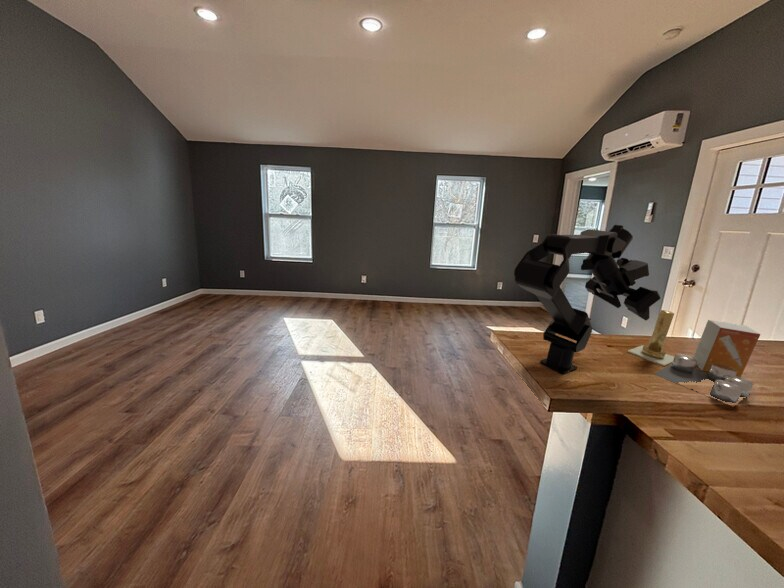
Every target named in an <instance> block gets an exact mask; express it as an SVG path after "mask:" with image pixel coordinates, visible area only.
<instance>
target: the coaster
mask: <svg viewBox="0 0 784 588" xmlns="http://www.w3.org/2000/svg"><path fill="white" fill-rule="evenodd" d="M643 346H644V345H643V344H641V345H639V346H636V347H634V348H631V349H629V350H627V353H629V354H632V355H634V356H637V357H639V358H641V359H644V360H647V361H650V362H652V363H655V364H656V365H660V366H662V367H667V366H670V365H672V362H673V360H674V357H675V356H674V355H670V354H667V353H666V354H665V357H664V359H657V358H652V357H649V356H647V355H645V354H643V353H642V349H643Z"/></svg>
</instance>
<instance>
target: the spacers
mask: <svg viewBox="0 0 784 588" xmlns="http://www.w3.org/2000/svg"><path fill="white" fill-rule="evenodd" d="M673 357H674V360H673V362H672V363H671V364H670V365H671V367H672V368H673V369H675V370H677V371H679V372H682V373H686V374H692V373H693V371H694V368H695V367H696V366H697V365H696V363H697V360H696V359H695V358H693V357H694V356H690V355H688V354H683V353H675V355H674V356H673ZM695 369H696V368H695ZM736 373H737V372H736V371H735V370H734V369H732V368H729V367H727V366H723V365H719V364H713V365H712V367H711V369H710V372H708V376H707V378H708V379H709V380H711V381H713V382H714V385H713V387H712V390H711V392H710V395H711V396H713V397H715V398H717V399H720V400H722V401H725V402H732V403H736V402H737V401H738V399H739V397H747V398H748V397H749V396H750V395H749V393H750V391H751V390H753V386H754V383H753V382H752V381H751V380H749V379H746V378H743V377H742V376H741V377H738V376H736Z"/></svg>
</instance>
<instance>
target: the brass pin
mask: <svg viewBox="0 0 784 588" xmlns="http://www.w3.org/2000/svg"><path fill="white" fill-rule="evenodd" d="M674 316H675V313H674V312H673V311H669V310H664V309H663V310H662V309H661V310H660V311H659V314H658V316H657V320H656V323H655V326H654V329H653V331H652V334H651V337H650V341H649V342H648V343H649V344H648V345H643V349H642V353H643V354H645V355H647V356H649V357H652V358H657V359H664V357H665V354H667V353H666V351H665V350H663V347H664V344H665V341H666V339H667V335H668V333H669V331H670V326H671V325H672V322H673V318H674Z"/></svg>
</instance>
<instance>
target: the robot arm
mask: <svg viewBox="0 0 784 588" xmlns="http://www.w3.org/2000/svg"><path fill="white" fill-rule="evenodd" d="M633 238H634V237H633V235H632V233H631V232H630V231H629V230H627V229H625V228H624V225H623V224H622V225H619V224H614V225H613V226H612V227H611V228H610V229H609V230H608V231H605V230H599V229H585V230H583V231H581V232H580V234H555V233H552V234H549V235H547V236H546V237H545V238H544V239H543V241H542V243H540V244H539V245H537V246H535V247H533V248H532V249H530V250H528V251H526V253H525V254H524V256H522V258H521V260H520V261H519V262H518V264H516V267H515V269H514V273H513V274H514V275H513V276H514V282H515V283H516V284H517V285H518V286H519V287H520V288H521V289H523V290H525V291H526V292H529V293H531V294H533V295H535V296H536V298H537V299H538V301H539V302H540V303H541V304H542V306H543V307H544V309H545V310H546V311H547V313H548V314H549V315H550V317H551V319H552V320H551V322H550V323H549V324H548V326H547V327H546V329H545V330H544V332H543V336H542V337H543V340H544V341H547V342H550V344H549V348H548V351H547V352H548V353H547V356H546V358H543V359H541V360H539V363H541V364H543V365H544V366H546V367H547V368H550V369H552V370H553V371H556V372H557V371H558V372H557V373H559V372H560V374H561V373H564V374H566V373H565V372H567V373H569V372H568V371H570V372H572V371H571V370H573V371H575V370H577V368H578V366H576V365H574V364H573V361H574V356H575V354H577V353H579V352H581V351H583V350H585V349H586V346H587V344H588V342H589V339H590V338H591V335H592V332H593V327H592V324H591V320H592V318H591V317H589V314H588V313H587V312H586V311H584V310H580V309H577V308H574V307H573V306H572V304H571V303H570V301H569V300H568V298H567V296H566V294H565V293H564V291H563V289H562V288H561V285H562V283H563V282H564V281H565V279H566V278H567V277H568V275H569V273H570V260H569V259H570V258H571V257H572V255H578V254H579V255H580V254H588V256H587V257H586V258H584V259H582V264H581V265H580V270H581V271H590V273H592V278H590V279H589V280H587V281H586V282H585V285H584V286H585V287H584V288H585V289H586V291H587V292H588V293H590V294H592V295H593V296H595V297H597V298H599V299H601V300H603V301H604V302H606V303H608V304H610V305H612V306H613V307H615V308H617V309H619V308H621V306H622V304H621V303H622V302H621V301H620V299H619V297H618V296H623V297H625V298H624V301H623V304H624V306H625V307H626V308H627V310H628V311H630V312H631V313H632V314H634V315H635V316H637V317H639V318H640V319H642V320H643V321H648V320H649V319H650V308H651V306H653V305H654V304H655V303H656V302H658V301H659V300H661V295H660V293H659V291H658V290H655V289H652V288H649V287H646V286H639V287H638V288H637V289H636V288H632V287H633V286H634V285H635V284H637V282H636V281H637V280H639V279H642V278H644V277H649V276H650V270H649V263H648V262H646V261H643V260H642V261H641V260H636V259H628V258H626V257H622V255H623V254H624V252H625V251H626V250H627V248H628V247H629V245H630V243H631V242H632V241H633ZM549 254H553V255H558V256H562V258H563V260H562V261H561V262H560V264H559V265H558V264H553V263H550V262H544V261H541V260H542V259H544V258H546V257H547V256H549ZM615 259H617V260H615ZM559 335H560V336H559ZM561 336H563V337H561ZM566 338H568V339H566ZM569 339H570V340H569ZM572 340H573V341H572ZM574 341H576V342H574ZM574 369H575V370H574Z"/></svg>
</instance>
